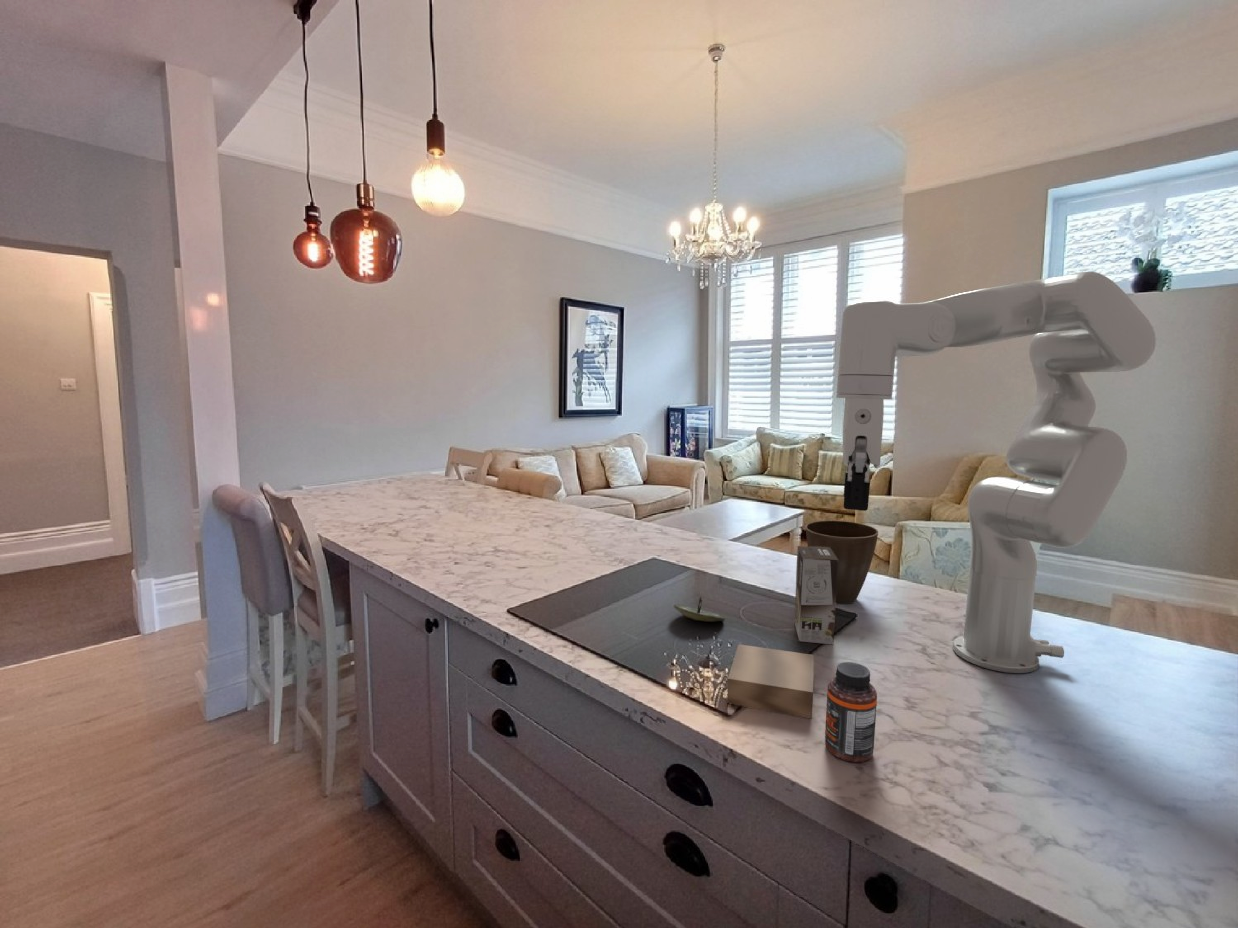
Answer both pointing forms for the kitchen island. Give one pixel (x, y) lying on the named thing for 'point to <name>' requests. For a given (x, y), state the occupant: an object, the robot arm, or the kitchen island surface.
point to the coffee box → (815, 594)
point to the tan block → (772, 680)
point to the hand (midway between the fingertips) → (854, 503)
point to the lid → (698, 613)
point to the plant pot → (846, 553)
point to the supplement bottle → (851, 713)
